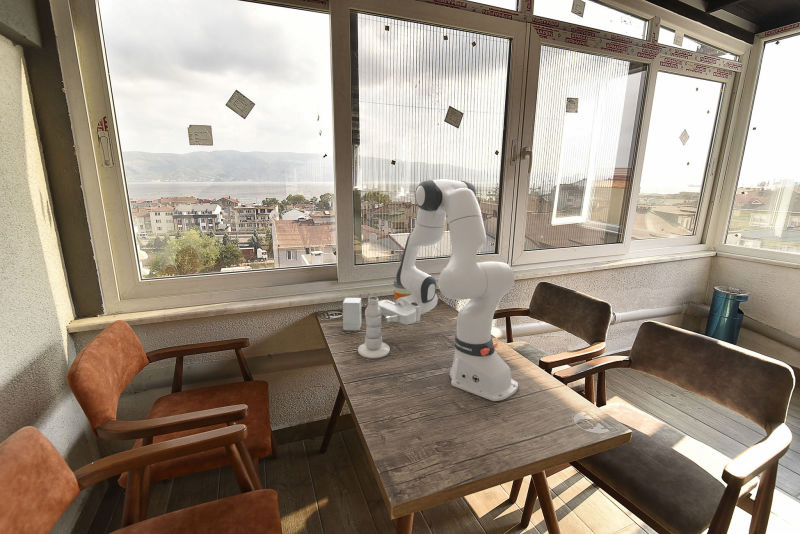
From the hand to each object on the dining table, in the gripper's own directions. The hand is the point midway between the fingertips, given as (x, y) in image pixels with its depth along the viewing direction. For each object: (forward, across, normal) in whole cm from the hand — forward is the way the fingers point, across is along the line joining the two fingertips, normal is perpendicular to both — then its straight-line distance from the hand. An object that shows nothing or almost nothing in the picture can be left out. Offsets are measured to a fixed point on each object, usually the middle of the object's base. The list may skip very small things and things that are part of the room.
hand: (378, 316), depth 141 cm
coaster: (+2, 0, +14) cm, 14 cm away
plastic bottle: (+2, 0, +13) cm, 13 cm away
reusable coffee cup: (-39, -26, +14) cm, 49 cm away
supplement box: (-5, -24, +14) cm, 28 cm away
